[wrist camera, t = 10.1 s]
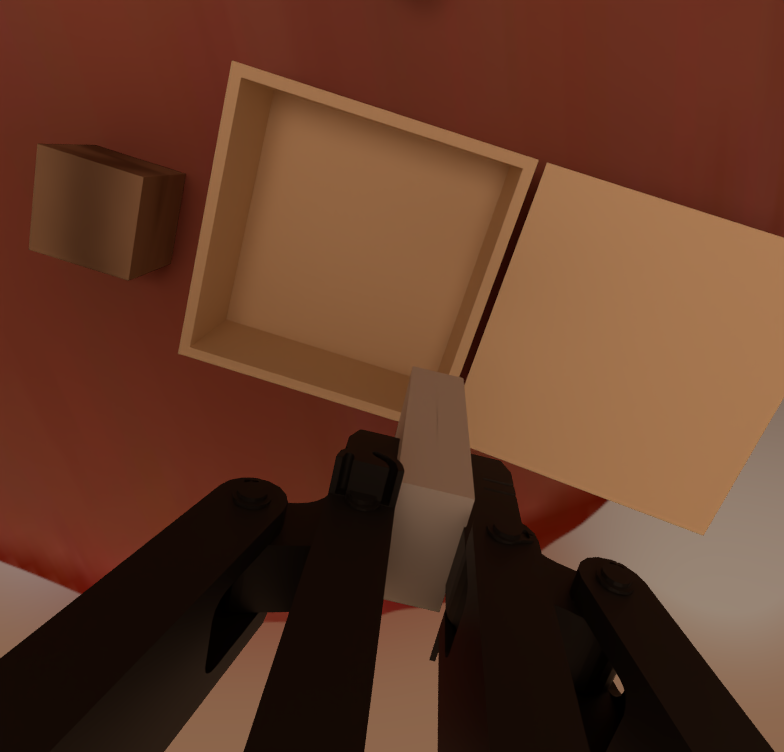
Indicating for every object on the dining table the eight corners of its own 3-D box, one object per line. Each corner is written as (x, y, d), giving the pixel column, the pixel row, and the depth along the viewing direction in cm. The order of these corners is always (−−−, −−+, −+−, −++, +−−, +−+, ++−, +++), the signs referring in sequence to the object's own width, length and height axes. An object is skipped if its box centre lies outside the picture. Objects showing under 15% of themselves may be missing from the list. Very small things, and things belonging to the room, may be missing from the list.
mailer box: (219, 322, 42) (177, 353, 36) (269, 77, 37) (231, 60, 30) (438, 390, 43) (438, 433, 36) (521, 158, 37) (538, 159, 31)
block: (85, 236, 41) (28, 249, 35) (95, 145, 39) (37, 143, 33) (171, 263, 41) (128, 280, 36) (186, 173, 39) (143, 177, 34)
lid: (703, 535, 34) (700, 529, 35) (862, 262, 29) (854, 261, 29) (444, 438, 36) (446, 433, 37) (547, 162, 30) (546, 162, 31)
